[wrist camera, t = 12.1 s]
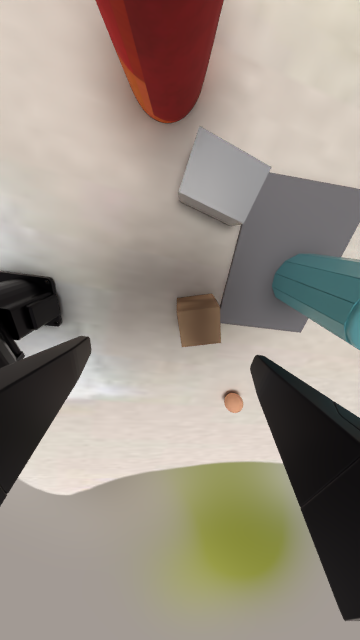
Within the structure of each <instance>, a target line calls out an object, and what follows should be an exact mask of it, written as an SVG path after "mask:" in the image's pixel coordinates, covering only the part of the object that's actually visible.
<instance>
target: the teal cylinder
mask: <svg viewBox="0 0 360 640" xmlns="http://www.w3.org/2000/svg"><path fill="white" fill-rule="evenodd" d="M272 288H273V291H274V294H275V297H276V298H278V299H279V300H281V301H282V302H284V303H285V304H287V305H289V306H290V307H292V308H293V309H295V310H297V311H298V312H300V313H301V314H303V315H305V316H306V317H308V318H309V319H311V320H313V321H314V322H316V323H317V324H319V325H320V326H322V327H324V328H325V329H327V330H328V331H330V332H332V333H333V334H335V335H336V336H338V337H340V338H341V339H343V340H344V341H346V342H348V343H349V344H351V345H352V346H354V347H355V348H357V349H359V350H360V260H357V259H349V258H342V257H334V256H326V255H319V254H298V255H296V256H294V257H292V258H290V259H288V260H286V261H285V262H284V263H283V264H282V265H281V267H280V268H279V269H278V270H277V271H276V273H275V275H274V279H273V283H272Z"/></svg>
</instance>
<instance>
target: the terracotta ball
mask: <svg viewBox="0 0 360 640" xmlns="http://www.w3.org/2000/svg"><path fill="white" fill-rule="evenodd" d="M224 402H225V406H226V408H227V409H228V410H229V411H230V412H233V413H237V412H239V411H241V410H242V408H243V401H242V398H241V397H240V396H239V395H238V394H236V393H230V394H228V395H227V396H226V397H225V401H224Z"/></svg>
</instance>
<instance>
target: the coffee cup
mask: <svg viewBox="0 0 360 640" xmlns="http://www.w3.org/2000/svg"><path fill="white" fill-rule="evenodd" d="M223 1H224V0H96V3H97V5H98V8H99V10H100V13H101V15H102V18H103V20H104V23H105V25H106V28H107V30H108V33H109V35H110V37H111V40H112V42H113V45H114V47H115V50H116V52H117V55H118V57H119V60H120V62H121V65H122V67H123V69H124V72H125V74H126V77H127V79H128V81H129V84H130V86H131V88H132V91H133V93H134V95H135V97H136V99H137V101H138V102H139V104H140V105H141V107H142V108H143V110H144V111H145V112H146V113H147V114H148V115H149V116H150V117H152V118H153V119H155V120H157V121H159V122H163V123H172V122H176V121H178V120H180V119H182V118H183V117H185V116H186V115H187V114H188V113H189V112H190V111H191V109H192V108H193V106H194V105H195V103H196V101H197V99H198V97H199V94H200V92H201V89H202V85H203V82H204V78H205V74H206V71H207V67H208V63H209V59H210V55H211V51H212V46H213V42H214V38H215V34H216V30H217V26H218V22H219V17H220V13H221V9H222V5H223Z"/></svg>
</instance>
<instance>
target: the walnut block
mask: <svg viewBox="0 0 360 640" xmlns="http://www.w3.org/2000/svg"><path fill="white" fill-rule="evenodd" d="M177 317H178V324H179V331H180V337H181V344H182V347H188V346H197V345H206V344H215V343H221V330H220V306H219V304H218V303H217V301H216V299H215V298H214V296H213V294H205V295H197V296H189V297H181V298H177Z"/></svg>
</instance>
